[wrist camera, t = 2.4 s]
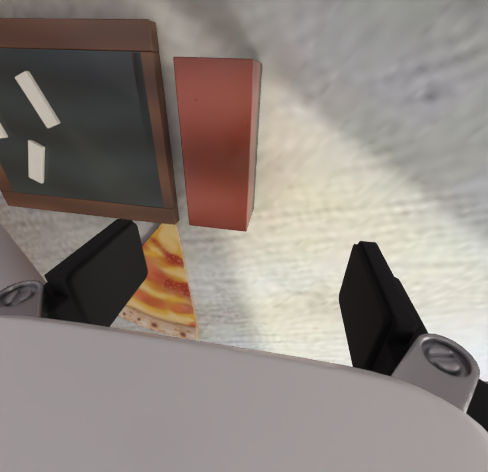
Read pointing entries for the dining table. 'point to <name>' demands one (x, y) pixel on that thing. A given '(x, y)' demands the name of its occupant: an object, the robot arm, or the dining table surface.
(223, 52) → the dining table surface
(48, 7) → the dining table surface
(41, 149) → the chalk mark
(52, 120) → the chalk mark
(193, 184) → the eraser
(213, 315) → the dining table surface
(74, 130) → the chalkboard
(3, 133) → the chalk mark
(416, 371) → the robot arm
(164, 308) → the pizza slice
